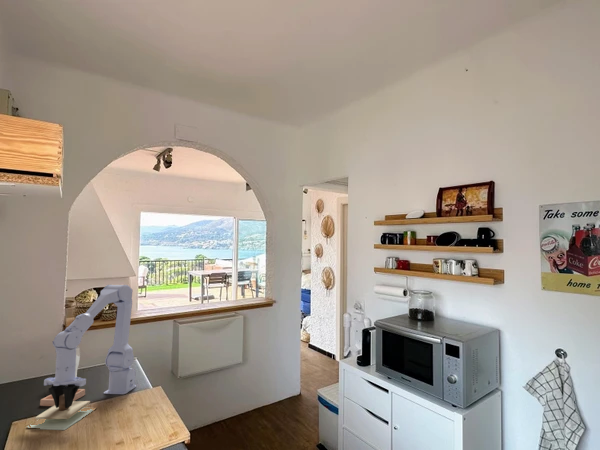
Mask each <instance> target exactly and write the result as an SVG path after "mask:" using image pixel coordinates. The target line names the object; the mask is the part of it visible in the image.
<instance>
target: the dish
mask: <svg viewBox="0 0 600 450" xmlns="http://www.w3.org/2000/svg"><path fill="white" fill-rule="evenodd" d="M85 395H86V389H85V388H79V389H78V390H77V392H76V394H75V397H74V399H73V401H78V399H80V398H83V397H84V396H85ZM54 405H55V402H54V399H53V397H52V395H51V394H49V395H47V396H46V397H43V398H41V399H40V401H39V406H41V407H52V406H54Z"/></svg>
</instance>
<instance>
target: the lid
mask: <svg viewBox="0 0 600 450" xmlns="http://www.w3.org/2000/svg"><path fill="white" fill-rule="evenodd" d="M89 404H91V400H85V401H84V400H79V401H78V400H75V401H73V403H72V406H70V407H68V408H65V397H64V394H62V395H60V396H59V407H58V408H56V406H55V405H54V406H50V407H49V408H48V409H46V410H45V411H43V412H41V413H40V414H38V415H37V416H35V418H34V420H39V419H69V418H70V417H72V416H73V415H74V414H76V413H77V412H78V411H80V410H81V409H83V408H86V406H87V407H88V405H89Z"/></svg>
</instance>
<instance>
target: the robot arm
mask: <svg viewBox="0 0 600 450" xmlns="http://www.w3.org/2000/svg"><path fill="white" fill-rule="evenodd" d="M112 303H113V304H114V305H115V306H116V307H117V308H116V317H115V328H114V336H113V344H112V346H110V347H109V348H108V349H107V355H106V357H105V360H104V364H105V366H106V367H107V369H108V370H109V372H108V374H109V375H108V389H107V390H105V391H104V392H103V394H104V395H125V394H128V393H129V392H130V391H132V390H133V389H135V388H136V387H137V385H136V370H135V369H134V368H132V364H133V362H134V360H135V357H134V349H133V347H132V346H131V345H130V344H129V339H130V338H129V337H130V330H131V329H130V328H131V320H132V309H133V289H132V288H131V286H130V285H128V284H106V285H105V287H103V289H101V290H100V294H99V296H98V297H97V299H96V300H95V301H94V302H93V303H92V304H91V306H90V307H89V308H88V309H87V310H86V311H85V313H81V314H78V315H76V316H75V319H74V320H73V321H72V322H70V325H68V326H67V327H65V329H64V330H63V331H61V332H59V333H57V335H55V337H54V339H53V341H52V345H53V347H54V349H55V353H56V355H55V356H56V357H55V372H54V373H55V374H54V377H47V378H45V379H44V380H43V386H48V385H49V386H50V385H51V387H49V388H48V392H49V393H50V395H52V397H53V399H54V402H55V406H56V408H58V407H59V396H60V395H62V394H64V397H65V408H68V407H70V406H72V403H73V399H74V397H75V394H76V392H77V390H78V389H80V387H83V386H85V385H87V378H82V377H78V376H77V377H75V369H76V348H77V346H79V345H80V344H81V342H82V339H83V337H84V334H85V333H86V332H87V331H88V329H89V328H90V327H91V326H92V325H94V322H95V320H94V318H95V317H96V316H97V315H98V314H99V313H101V312H102V310H103V309H105V307H106V306H108V305H109V304H112Z"/></svg>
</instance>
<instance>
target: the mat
mask: <svg viewBox="0 0 600 450" xmlns="http://www.w3.org/2000/svg"><path fill="white" fill-rule="evenodd" d="M92 411H93V410H92V409H90V410H87V411H81V410H80V412H77V413H76V414H74V415H73V416H72V417H70V418H69V419H46V420H45V422H44V423H42V424H38V425H31V424H29V425H30V426H31V428H40V429H39V430H49V431H50V430H51V431H52V430H53V431H65V430H68V428H70V427H72V426H73V425H75V424H76V423H78V422H79V421H81V420H83V419H84V418H86V417H87V416H88V414H89V413H90V414H92V413H93V412H94V411H93V412H92ZM91 412H92V413H91ZM90 414H89V415H90ZM86 415H87V416H86ZM85 416H86V417H85ZM83 417H84V418H83ZM82 418H83V419H82ZM29 425H27V426H26V427H28V428H30V427H29Z"/></svg>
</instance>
